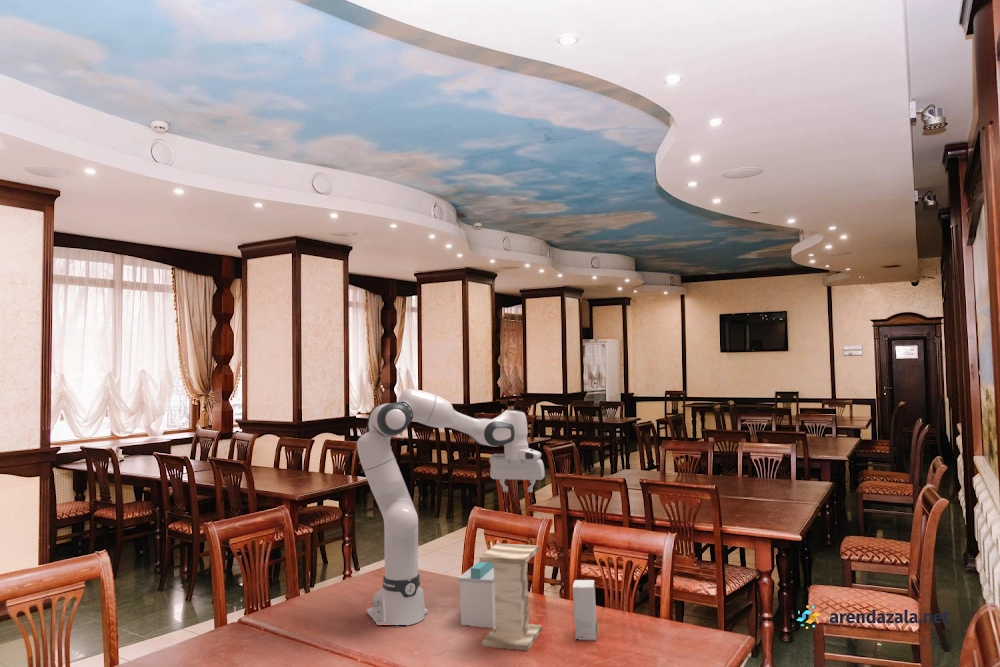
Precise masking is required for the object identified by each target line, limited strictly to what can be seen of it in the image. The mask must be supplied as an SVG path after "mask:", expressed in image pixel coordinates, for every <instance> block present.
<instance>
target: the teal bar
mask: <svg viewBox="0 0 1000 667" xmlns="http://www.w3.org/2000/svg"><path fill="white" fill-rule="evenodd" d="M472 566H473V567H472ZM472 566H471V567H472V568H471V567H470V568H471V578H473V579H481V578H482V577H483V576H484V575H486V574H487V573H488V572H489V571H490V570H491V569H492V568H494V563H488V562H480V560H478V562H477V564H476V563H475V564H473V565H472Z"/></svg>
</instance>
